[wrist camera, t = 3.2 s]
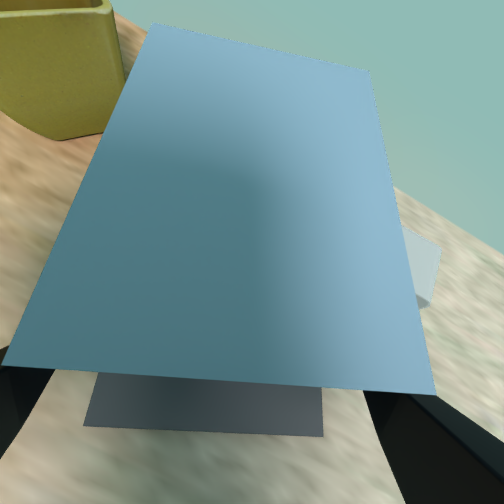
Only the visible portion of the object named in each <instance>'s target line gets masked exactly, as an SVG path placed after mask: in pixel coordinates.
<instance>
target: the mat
mask: <svg viewBox="0 0 504 504" xmlns="http://www.w3.org/2000/svg"><path fill="white" fill-rule="evenodd" d="M83 426H90V427H112V428H135V429H157V430H179V431H201V432H223V433H245V434H268V435H290V436H312V437H323V416H322V392H321V387H310V386H296V385H281V384H266V383H252V382H237V381H223V380H208V379H194V378H179V377H165V376H150V375H136V374H121V373H107V372H99V373H98V376H97V380H96V383H95V386H94V390H93V393H92V397H91V400H90V404H89V407H88V411H87V414H86V417H85V421H84V424H83Z"/></svg>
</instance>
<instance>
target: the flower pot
mask: <svg viewBox="0 0 504 504" xmlns="http://www.w3.org/2000/svg"><path fill="white" fill-rule="evenodd" d="M125 83H126V80H125V74H124V68H123V62H122V57H121V51H120V46H119V40H118V35H117V30H116V24H115V19H114V13H113V7H112V5H111V3H110V1H109V0H0V110H1V111H2V112H3V113H5V114H6V115H7V116H9V117H10V118H11V119H13V120H14V121H16V122H17V123H19V124H21V125H22V126H24V127H26V128H27V129H29V130H31V131H33V132H35V133H37V134H40V135H42V136H45V137H47V138H50V139H53V140H64V139H70V138H75V137H80V136H85V135H90V134H95V133H101V132H104V131H105V129H106V126H107V124H108V122H109V120H110V117H111V115H112V113H113V111H114V108H115V106H116V104H117V101H118V99H119V97H120V95H121V92H122V90H123V88H124V86H125Z"/></svg>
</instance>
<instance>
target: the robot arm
mask: <svg viewBox="0 0 504 504" xmlns="http://www.w3.org/2000/svg"><path fill="white" fill-rule="evenodd" d="M9 346H10V345H9ZM9 346H6V347H4V348H2V349H0V459H1V457H2V456H3V454H4V453H5V452H6V450H7V449H8V447H9V446H10V444H11V443H12V441H13V440H14V438H15V437H16V435H17V434H18V432H19V431H20V429H21V428H22V426H23V425H24V423H25V421H26V420H27V418H28V416H29V415H30V413H31V411H32V409H33V408H34V406H35V404H36V402H37V401H38V399H39V397H40V395H41V394H42V392H43V390H44V388H45V387H46V385H47V383H48V381H49V380H50V378H51V376H52V374H53V373H54V371H55V369H49V368H34V367H20V366H5V365H1V364H2V362H3V359H4V357H5V355H6V353H7V350H8V348H9ZM363 393H364V396H365V399H366V402H367V405H368V408H369V411H370V414H371V418H372V421H373V424H374V427H375V430H376V433H377V436H378V438H379V441H380V444H381V446H382V449H383V451H384V453H385V456H386V458H387V461H388V463H389V465H390V468H391V470H392V472H393V475H394V477H395V479H396V482H397V484H398V487H399V489H400V491H401V494H402V496H403V498H404V501H405V503H406V504H504V443H503V442H502V441H500V440H499V439H498V438H496V437H495V436H493V435H492V434H490V433H489V432H488V431H486V430H485V429H483V428H482V427H480V426H479V425H478V424H476V423H475V422H473V421H472V420H470V419H469V418H468V417H466V416H465V415H463V414H462V413H460V412H459V411H458V410H456V409H455V408H453V407H452V406H450V405H449V404H448V403H446V402H445V401H443V400H442V399H440V398H439V397H438V396H436V395H426V394H412V393H397V392H383V391H368V390H363Z"/></svg>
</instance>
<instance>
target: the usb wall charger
mask: <svg viewBox="0 0 504 504" xmlns="http://www.w3.org/2000/svg"><path fill="white" fill-rule="evenodd" d="M401 227H402V232H403V236H404V241H405V246H406V251H407V256H408V260H409V265H410V270H411V275H412V280H413V284H414V289H415V294H416V299H417V304H418V308H419V310H420V309H424V308H427V307H429V306H430V303H431V299H432V294H433V290H434V285H435V280H436V276H437V271H438V267H439V262H440V257H441V253H442V249H441V247H440V246H438V245H437V244H435V243H433V242H431V241H429V240H428V239H426V238H424V237H422V236H420V235H419V234H417V233H415V232H413V231H411V230H410V229H408V228H406V227H404V226H402V225H401Z"/></svg>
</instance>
